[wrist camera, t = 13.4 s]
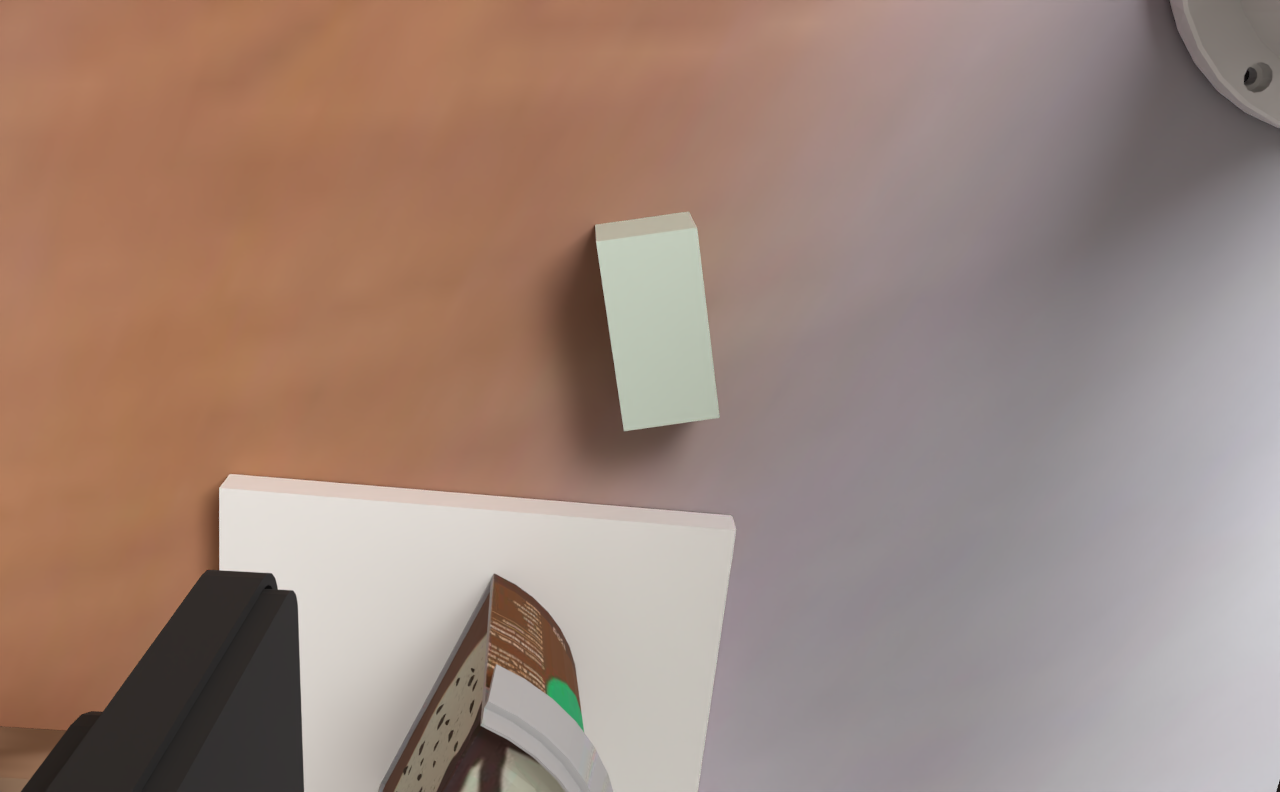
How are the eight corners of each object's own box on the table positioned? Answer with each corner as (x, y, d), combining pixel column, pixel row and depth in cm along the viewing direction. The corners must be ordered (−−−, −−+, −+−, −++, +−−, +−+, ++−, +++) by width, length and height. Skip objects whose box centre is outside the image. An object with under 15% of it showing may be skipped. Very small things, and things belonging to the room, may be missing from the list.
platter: (732, 515, 41) (736, 530, 40) (677, 892, 46) (679, 915, 45) (229, 474, 39) (219, 487, 38) (229, 866, 44) (219, 889, 43)
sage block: (595, 223, 38) (595, 241, 35) (688, 210, 38) (696, 227, 35) (620, 400, 39) (623, 431, 37) (709, 387, 39) (719, 417, 37)
